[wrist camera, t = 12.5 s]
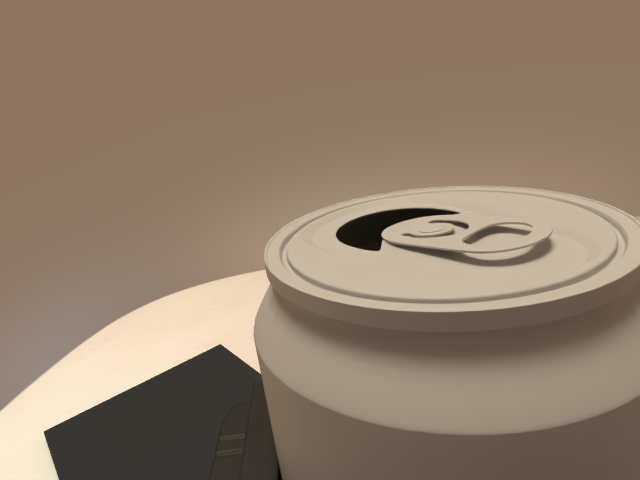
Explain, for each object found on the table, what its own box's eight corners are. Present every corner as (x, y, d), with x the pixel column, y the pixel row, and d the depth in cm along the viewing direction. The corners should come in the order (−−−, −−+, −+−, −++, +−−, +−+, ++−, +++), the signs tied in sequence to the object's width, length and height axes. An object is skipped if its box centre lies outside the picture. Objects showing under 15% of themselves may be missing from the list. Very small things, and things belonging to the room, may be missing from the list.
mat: (95, 587, 17) (91, 578, 16) (46, 438, 25) (43, 431, 25) (321, 426, 23) (320, 418, 23) (222, 350, 31) (220, 343, 31)
